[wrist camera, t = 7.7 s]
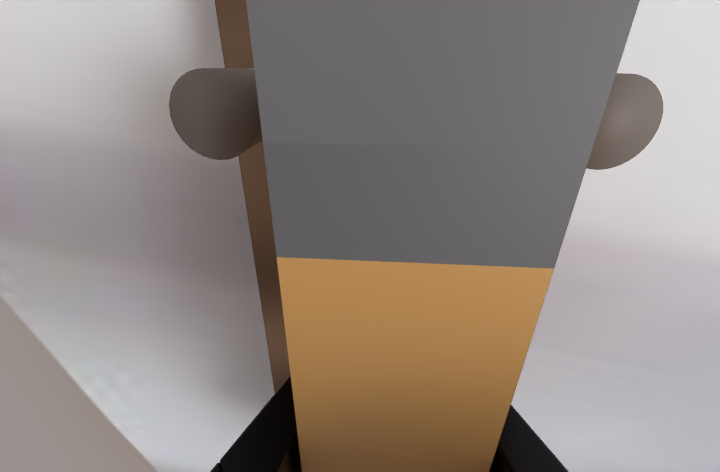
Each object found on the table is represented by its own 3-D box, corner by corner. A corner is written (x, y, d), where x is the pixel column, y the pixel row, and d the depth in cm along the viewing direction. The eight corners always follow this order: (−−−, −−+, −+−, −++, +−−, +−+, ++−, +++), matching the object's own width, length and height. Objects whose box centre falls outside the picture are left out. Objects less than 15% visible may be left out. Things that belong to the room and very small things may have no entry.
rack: (464, 442, 17) (492, 572, 13) (292, 430, 18) (262, 552, 13) (586, -53, 8) (821, -190, 4) (231, -51, 9) (73, -172, 4)
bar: (423, 485, 14) (437, 632, 10) (336, 479, 14) (319, 621, 10) (502, 27, 6) (646, -23, 3) (317, 26, 7) (243, -22, 3)
